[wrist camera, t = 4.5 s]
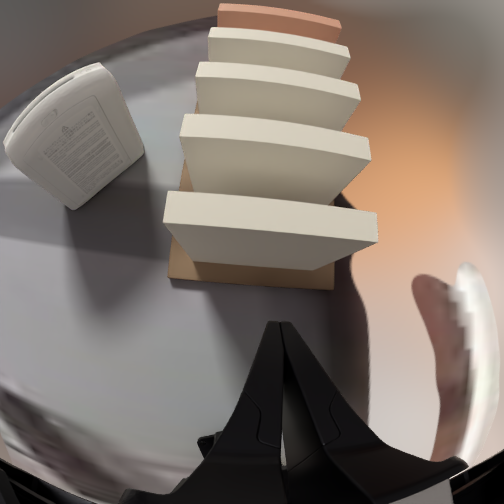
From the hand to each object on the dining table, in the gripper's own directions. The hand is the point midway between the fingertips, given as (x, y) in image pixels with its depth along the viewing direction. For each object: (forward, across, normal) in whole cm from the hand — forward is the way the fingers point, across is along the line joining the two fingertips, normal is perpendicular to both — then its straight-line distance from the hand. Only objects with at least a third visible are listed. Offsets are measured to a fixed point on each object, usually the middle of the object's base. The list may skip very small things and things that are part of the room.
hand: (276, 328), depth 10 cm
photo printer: (+18, +16, +1) cm, 24 cm away
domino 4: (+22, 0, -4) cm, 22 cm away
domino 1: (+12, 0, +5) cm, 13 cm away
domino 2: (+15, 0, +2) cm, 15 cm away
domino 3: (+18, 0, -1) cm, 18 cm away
